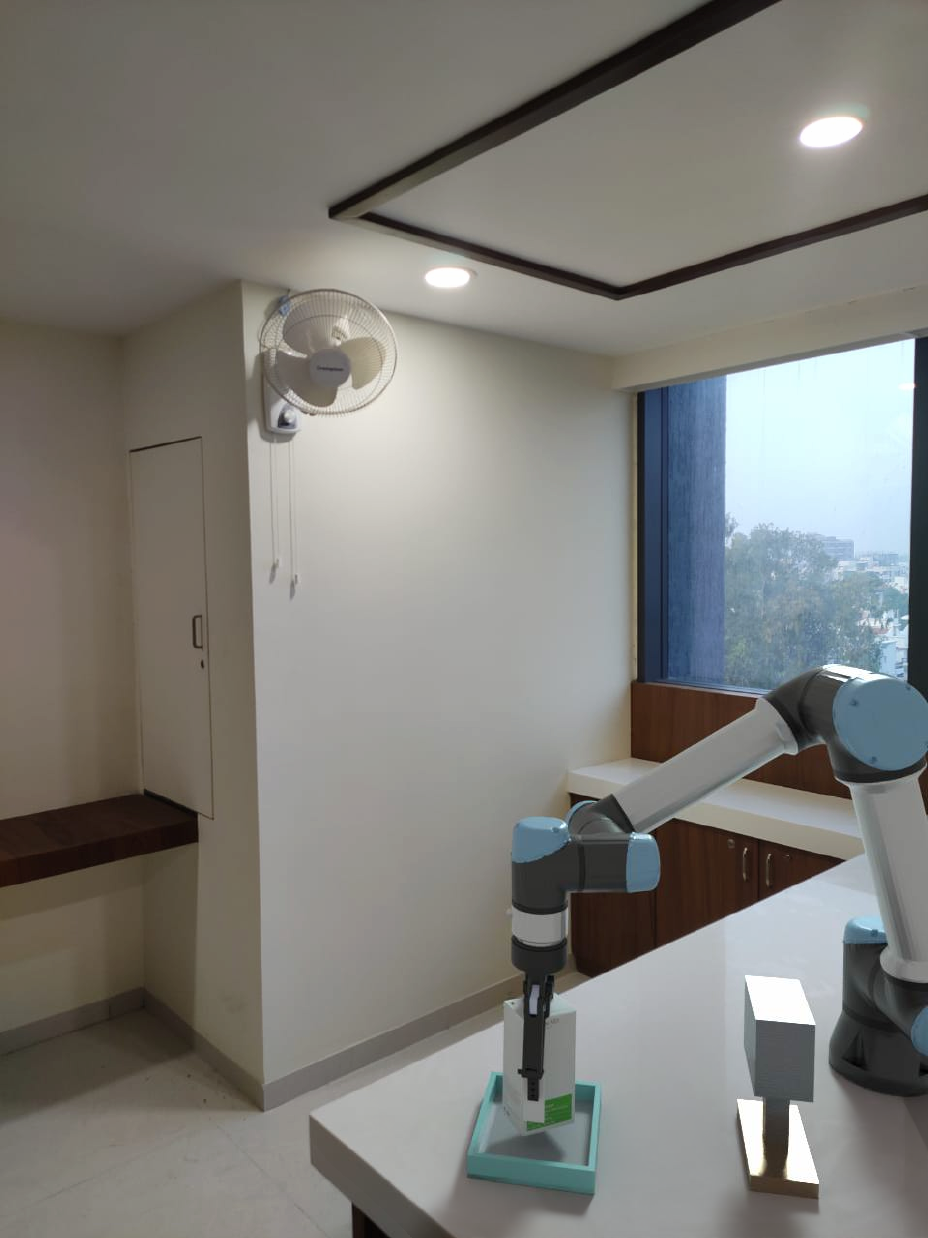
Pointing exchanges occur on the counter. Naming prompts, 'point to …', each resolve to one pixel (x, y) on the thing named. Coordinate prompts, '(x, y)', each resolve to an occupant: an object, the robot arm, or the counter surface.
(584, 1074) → the counter surface
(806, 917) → the counter surface
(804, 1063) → the mounted unit
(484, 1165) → the tray
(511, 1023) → the skincare box
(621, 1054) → the counter surface
